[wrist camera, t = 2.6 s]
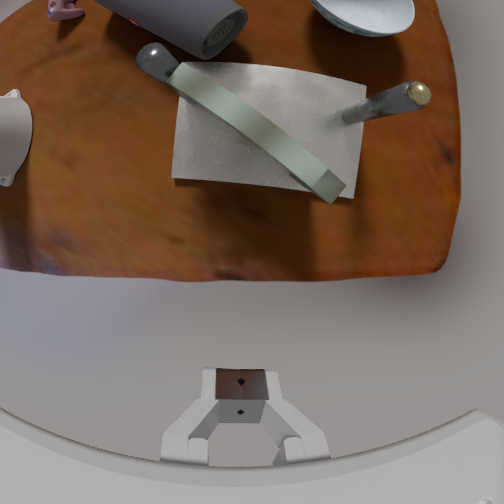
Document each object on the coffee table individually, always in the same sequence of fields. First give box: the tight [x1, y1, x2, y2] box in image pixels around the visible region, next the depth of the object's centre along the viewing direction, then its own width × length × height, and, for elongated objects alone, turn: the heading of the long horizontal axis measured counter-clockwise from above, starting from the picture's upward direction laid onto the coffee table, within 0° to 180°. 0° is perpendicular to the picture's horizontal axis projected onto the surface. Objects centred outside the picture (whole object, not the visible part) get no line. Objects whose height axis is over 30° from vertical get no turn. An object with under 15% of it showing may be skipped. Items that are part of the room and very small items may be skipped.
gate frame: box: [136, 43, 431, 199], centre depth 24 cm, size 24×16×19 cm, turn 84°
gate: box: [166, 62, 347, 205], centre depth 25 cm, size 16×2×14 cm, turn 52°
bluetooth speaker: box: [95, 0, 248, 60], centre depth 22 cm, size 23×9×10 cm, turn 48°
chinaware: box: [310, 0, 415, 37], centre depth 22 cm, size 15×15×8 cm
